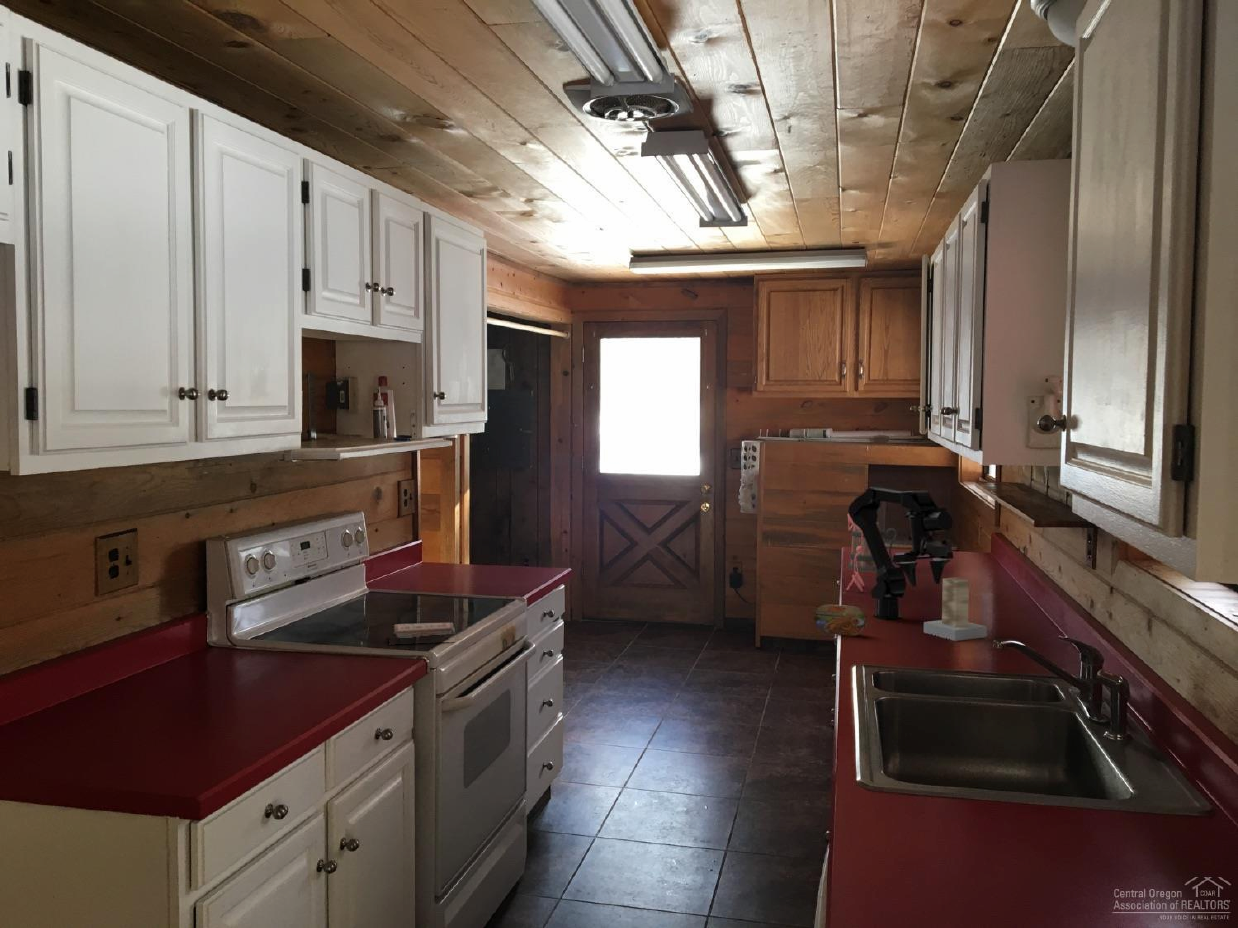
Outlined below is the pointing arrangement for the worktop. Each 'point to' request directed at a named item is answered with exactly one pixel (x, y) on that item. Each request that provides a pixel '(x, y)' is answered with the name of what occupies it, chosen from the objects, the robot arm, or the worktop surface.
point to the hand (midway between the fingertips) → (925, 585)
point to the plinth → (955, 630)
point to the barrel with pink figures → (859, 550)
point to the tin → (840, 620)
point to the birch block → (955, 601)
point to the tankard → (866, 551)
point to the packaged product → (423, 629)
